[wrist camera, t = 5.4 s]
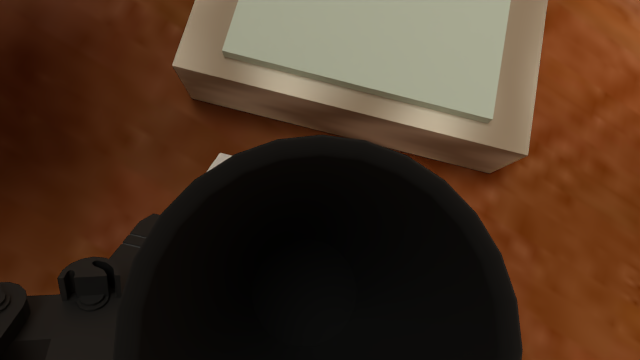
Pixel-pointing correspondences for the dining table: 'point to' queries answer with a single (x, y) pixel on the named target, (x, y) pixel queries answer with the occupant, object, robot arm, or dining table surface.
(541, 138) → the dining table surface
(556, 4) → the dining table surface
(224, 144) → the dining table surface
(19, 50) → the dining table surface
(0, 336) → the robot arm
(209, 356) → the cup
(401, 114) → the stand
